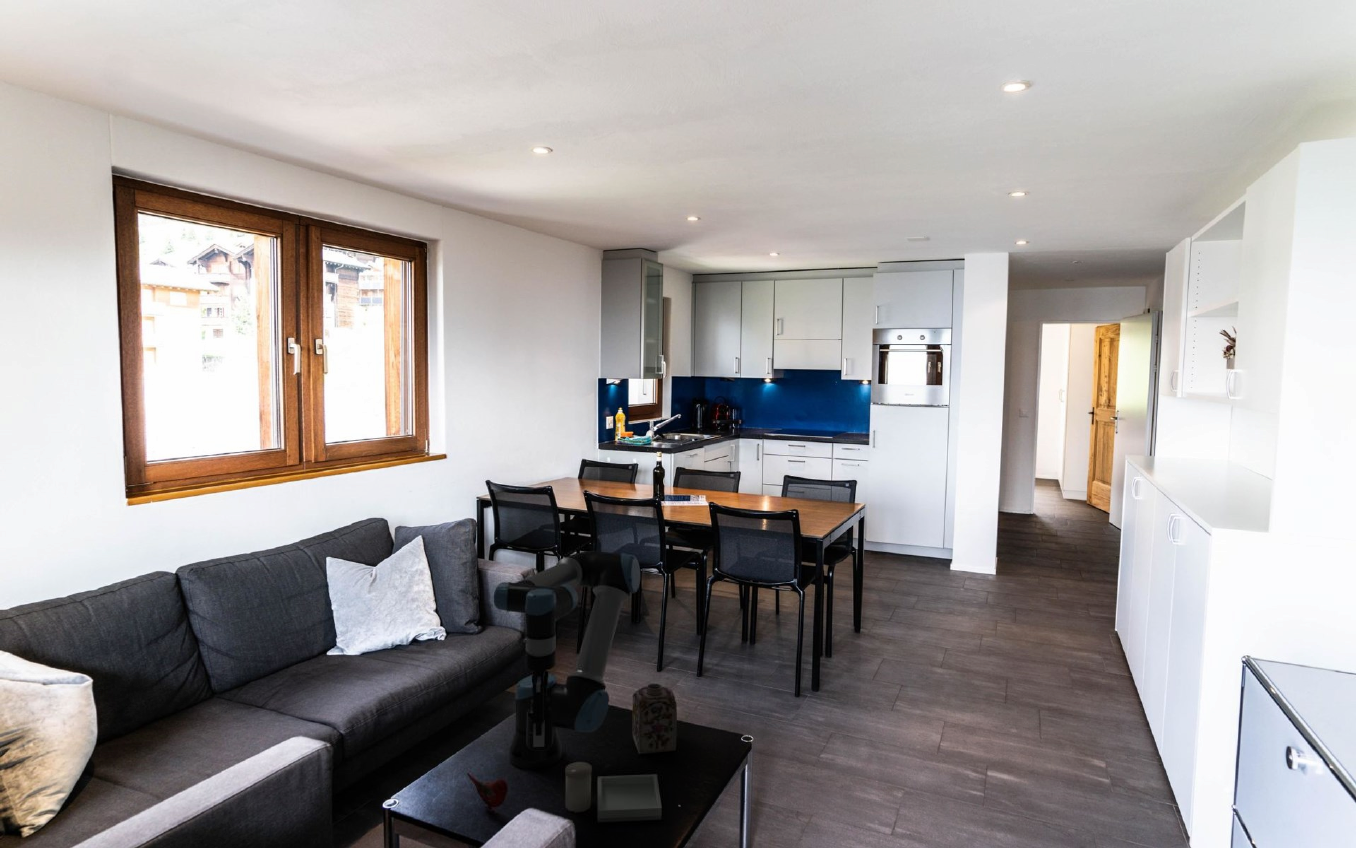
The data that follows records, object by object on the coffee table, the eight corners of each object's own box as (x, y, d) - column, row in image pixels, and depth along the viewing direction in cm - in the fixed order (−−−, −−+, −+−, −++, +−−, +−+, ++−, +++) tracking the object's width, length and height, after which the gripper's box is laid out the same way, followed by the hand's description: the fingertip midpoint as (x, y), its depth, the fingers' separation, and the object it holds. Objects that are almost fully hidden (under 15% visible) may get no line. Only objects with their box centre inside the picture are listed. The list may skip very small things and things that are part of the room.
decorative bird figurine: (503, 825, 183) (503, 786, 182) (462, 798, 194) (462, 761, 193) (512, 820, 185) (513, 781, 184) (471, 793, 196) (471, 757, 196)
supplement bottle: (529, 753, 186) (529, 707, 185) (523, 741, 192) (524, 696, 191) (556, 748, 188) (556, 702, 188) (549, 736, 195) (550, 691, 194)
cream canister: (565, 798, 195) (565, 762, 194) (591, 797, 196) (591, 761, 195) (564, 813, 188) (564, 776, 188) (591, 812, 189) (591, 775, 188)
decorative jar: (638, 755, 218) (638, 695, 217) (631, 736, 229) (632, 680, 228) (677, 751, 221) (678, 692, 220) (668, 733, 232) (669, 677, 231)
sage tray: (597, 787, 200) (597, 776, 200) (656, 785, 202) (656, 774, 202) (597, 822, 185) (597, 810, 184) (661, 819, 186) (661, 808, 186)
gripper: (529, 638, 198) (528, 721, 199) (521, 666, 178) (521, 759, 180) (557, 637, 199) (556, 720, 200) (553, 666, 179) (552, 758, 181)
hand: (540, 738), depth 190 cm, fingers closed on supplement bottle, 7 cm apart
